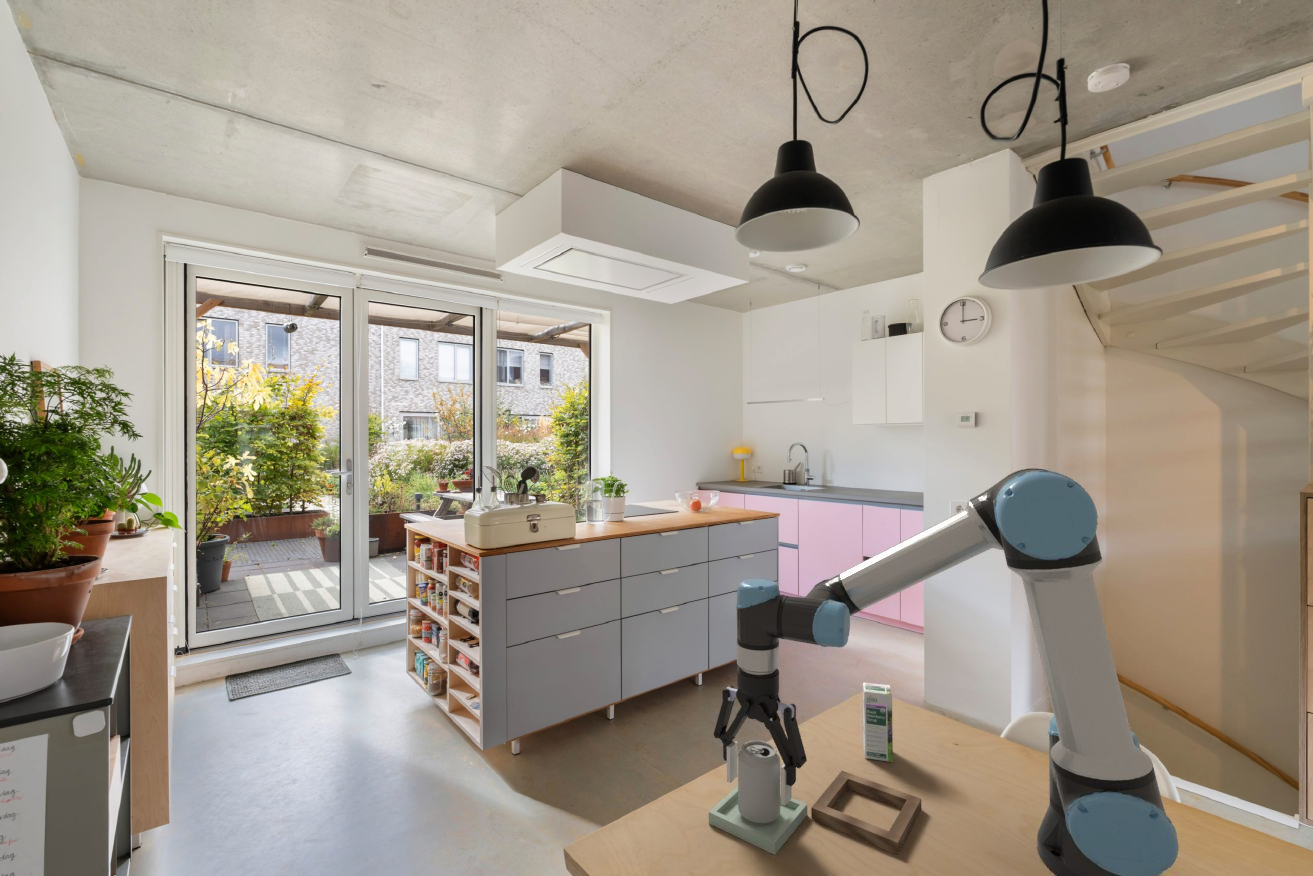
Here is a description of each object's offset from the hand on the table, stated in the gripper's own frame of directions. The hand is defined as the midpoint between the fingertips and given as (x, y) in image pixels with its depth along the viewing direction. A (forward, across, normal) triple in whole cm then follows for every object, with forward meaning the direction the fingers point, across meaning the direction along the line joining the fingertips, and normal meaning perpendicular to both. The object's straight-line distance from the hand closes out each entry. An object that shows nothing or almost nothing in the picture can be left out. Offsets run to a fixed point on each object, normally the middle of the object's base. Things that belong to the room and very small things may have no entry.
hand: (758, 789), depth 105 cm
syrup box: (+5, -10, -36) cm, 37 cm away
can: (+5, 0, 0) cm, 5 cm away
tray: (+5, 0, 0) cm, 5 cm away
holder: (+5, -15, -14) cm, 21 cm away
